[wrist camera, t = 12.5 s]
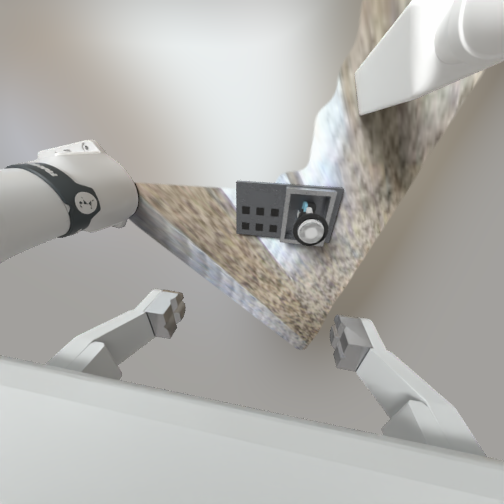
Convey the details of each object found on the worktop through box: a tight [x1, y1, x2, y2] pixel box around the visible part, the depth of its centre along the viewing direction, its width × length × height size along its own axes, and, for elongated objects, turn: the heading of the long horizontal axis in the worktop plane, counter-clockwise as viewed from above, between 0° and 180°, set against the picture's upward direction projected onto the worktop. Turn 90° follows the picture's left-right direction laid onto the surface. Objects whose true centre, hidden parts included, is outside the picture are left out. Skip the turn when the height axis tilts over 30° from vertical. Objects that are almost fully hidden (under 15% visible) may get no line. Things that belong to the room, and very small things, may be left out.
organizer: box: [236, 181, 344, 247], centre depth 37 cm, size 20×11×4 cm, turn 88°
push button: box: [293, 201, 328, 246], centre depth 33 cm, size 7×5×10 cm
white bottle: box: [355, 0, 504, 115], centre depth 18 cm, size 6×6×22 cm
